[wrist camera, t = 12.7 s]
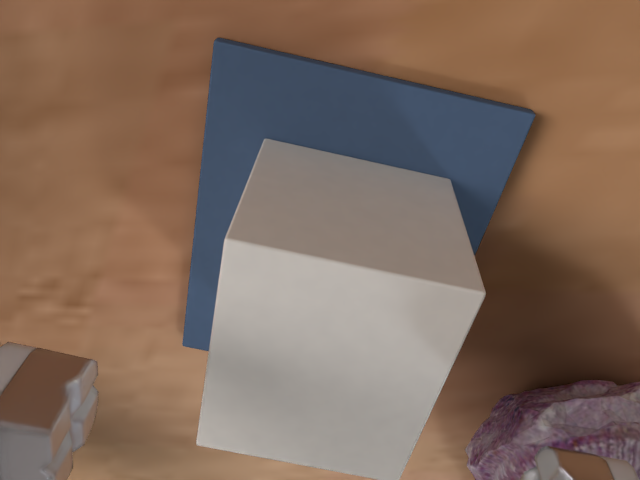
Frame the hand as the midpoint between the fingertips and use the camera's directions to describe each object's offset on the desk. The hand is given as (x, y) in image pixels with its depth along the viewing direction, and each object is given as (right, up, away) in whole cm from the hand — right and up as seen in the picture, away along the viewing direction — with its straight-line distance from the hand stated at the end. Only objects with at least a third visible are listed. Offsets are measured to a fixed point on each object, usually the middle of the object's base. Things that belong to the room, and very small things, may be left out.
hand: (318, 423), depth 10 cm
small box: (0, +3, +6) cm, 7 cm away
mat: (0, +3, +6) cm, 7 cm away
